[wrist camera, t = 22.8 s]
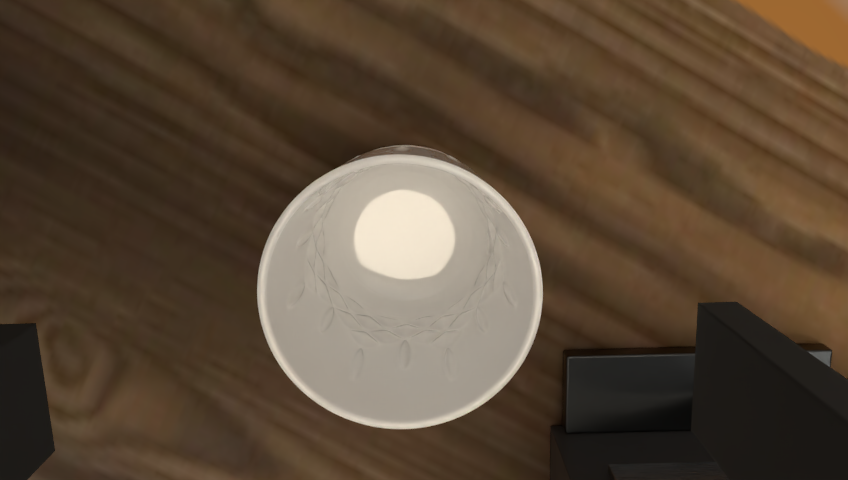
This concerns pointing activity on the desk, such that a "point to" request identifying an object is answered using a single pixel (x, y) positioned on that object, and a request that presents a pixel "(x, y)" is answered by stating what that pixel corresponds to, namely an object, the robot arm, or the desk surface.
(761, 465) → the robot arm
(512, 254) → the white cup
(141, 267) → the desk surface
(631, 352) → the coffee machine
